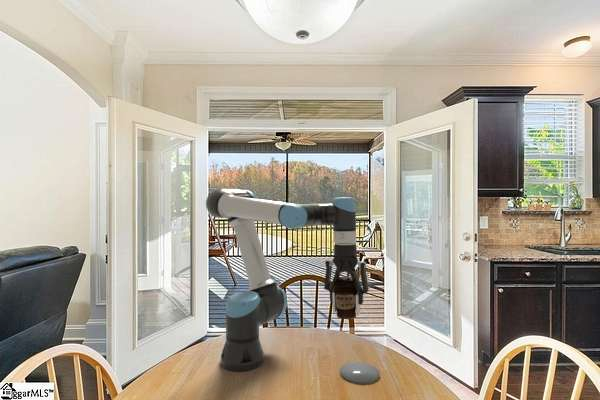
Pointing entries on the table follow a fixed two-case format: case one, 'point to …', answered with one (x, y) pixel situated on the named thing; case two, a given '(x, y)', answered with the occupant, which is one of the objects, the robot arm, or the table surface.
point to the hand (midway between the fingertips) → (346, 312)
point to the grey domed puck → (359, 372)
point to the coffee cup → (345, 297)
